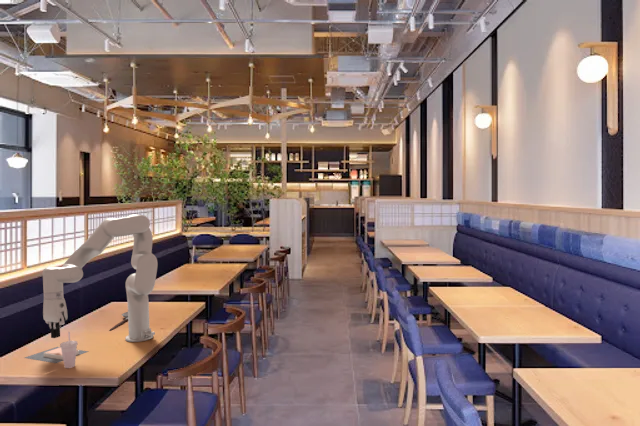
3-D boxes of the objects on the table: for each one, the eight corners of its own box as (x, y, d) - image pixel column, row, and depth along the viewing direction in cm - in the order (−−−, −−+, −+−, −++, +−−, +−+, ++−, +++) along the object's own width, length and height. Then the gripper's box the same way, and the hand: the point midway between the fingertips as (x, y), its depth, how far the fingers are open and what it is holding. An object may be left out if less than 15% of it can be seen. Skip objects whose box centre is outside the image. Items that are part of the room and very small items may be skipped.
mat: (88, 352, 214) (88, 351, 214) (56, 364, 199) (56, 363, 199) (57, 347, 222) (57, 346, 222) (23, 358, 207) (23, 357, 207)
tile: (60, 351, 215) (79, 354, 211) (43, 356, 208) (63, 359, 203) (60, 347, 215) (79, 349, 211) (43, 352, 208) (62, 355, 203)
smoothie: (81, 363, 199) (80, 330, 199) (74, 369, 193) (72, 334, 192) (65, 364, 199) (64, 330, 199) (57, 369, 193) (56, 335, 192)
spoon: (145, 314, 281) (144, 309, 281) (120, 332, 248) (119, 327, 248) (127, 316, 282) (126, 311, 281) (99, 334, 249) (99, 329, 249)
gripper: (73, 294, 210) (75, 336, 211) (50, 292, 216) (51, 333, 217) (57, 298, 203) (59, 341, 204) (34, 296, 210) (36, 338, 210)
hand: (55, 337), depth 211 cm, fingers closed
